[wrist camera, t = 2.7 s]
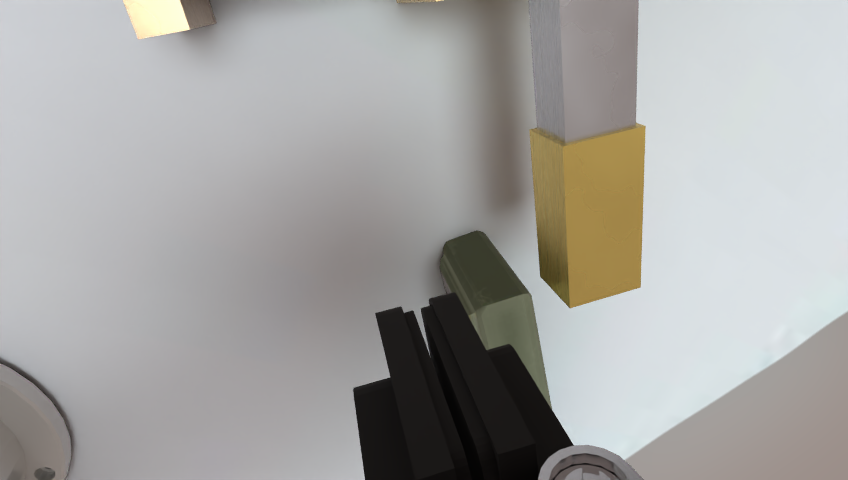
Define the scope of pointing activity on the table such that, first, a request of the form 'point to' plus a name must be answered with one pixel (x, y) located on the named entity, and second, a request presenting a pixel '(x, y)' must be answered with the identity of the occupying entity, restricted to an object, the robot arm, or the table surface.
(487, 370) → the robot arm
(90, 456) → the table surface
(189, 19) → the valve body
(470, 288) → the handheld radio
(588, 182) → the lever
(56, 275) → the table surface
